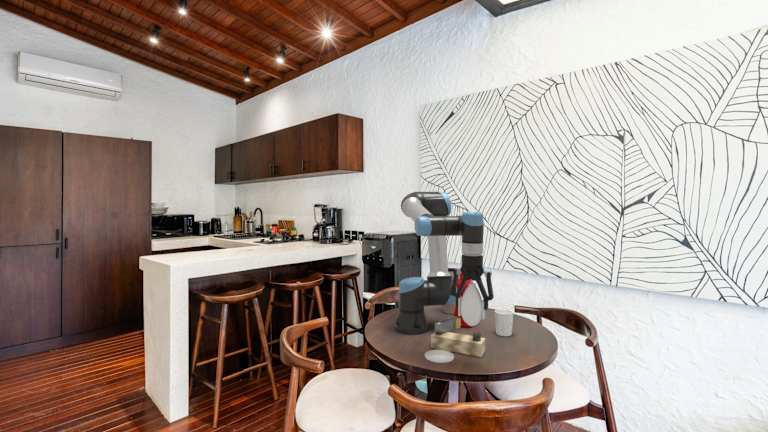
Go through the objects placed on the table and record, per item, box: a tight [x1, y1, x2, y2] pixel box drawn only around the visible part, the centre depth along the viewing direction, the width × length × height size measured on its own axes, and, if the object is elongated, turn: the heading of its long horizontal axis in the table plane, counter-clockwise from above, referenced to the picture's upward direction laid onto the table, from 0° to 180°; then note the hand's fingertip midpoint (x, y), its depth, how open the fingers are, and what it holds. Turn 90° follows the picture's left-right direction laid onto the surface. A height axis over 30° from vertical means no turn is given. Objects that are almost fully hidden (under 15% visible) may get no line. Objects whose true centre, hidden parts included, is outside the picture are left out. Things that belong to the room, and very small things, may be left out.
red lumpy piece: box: [453, 273, 472, 328], centre depth 178 cm, size 9×11×25 cm
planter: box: [441, 267, 461, 315], centre depth 198 cm, size 10×10×23 cm
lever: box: [434, 315, 462, 334], centre depth 154 cm, size 14×4×4 cm, turn 131°
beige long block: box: [430, 331, 486, 358], centre depth 147 cm, size 20×7×8 cm, turn 62°
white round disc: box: [424, 349, 455, 364], centre depth 140 cm, size 11×11×1 cm
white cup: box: [494, 308, 514, 337], centre depth 165 cm, size 8×8×10 cm
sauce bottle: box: [461, 280, 483, 327], centre depth 135 cm, size 8×8×18 cm
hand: (471, 316), depth 135 cm, fingers closed on sauce bottle, 8 cm apart
